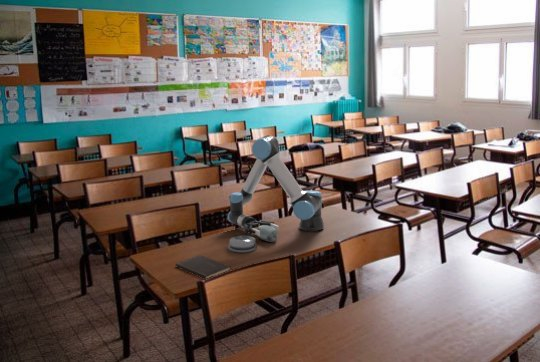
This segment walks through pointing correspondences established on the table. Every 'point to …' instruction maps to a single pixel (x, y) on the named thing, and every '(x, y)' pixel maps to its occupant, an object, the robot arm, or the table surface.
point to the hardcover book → (203, 266)
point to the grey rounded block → (267, 233)
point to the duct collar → (242, 244)
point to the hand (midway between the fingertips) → (269, 230)
